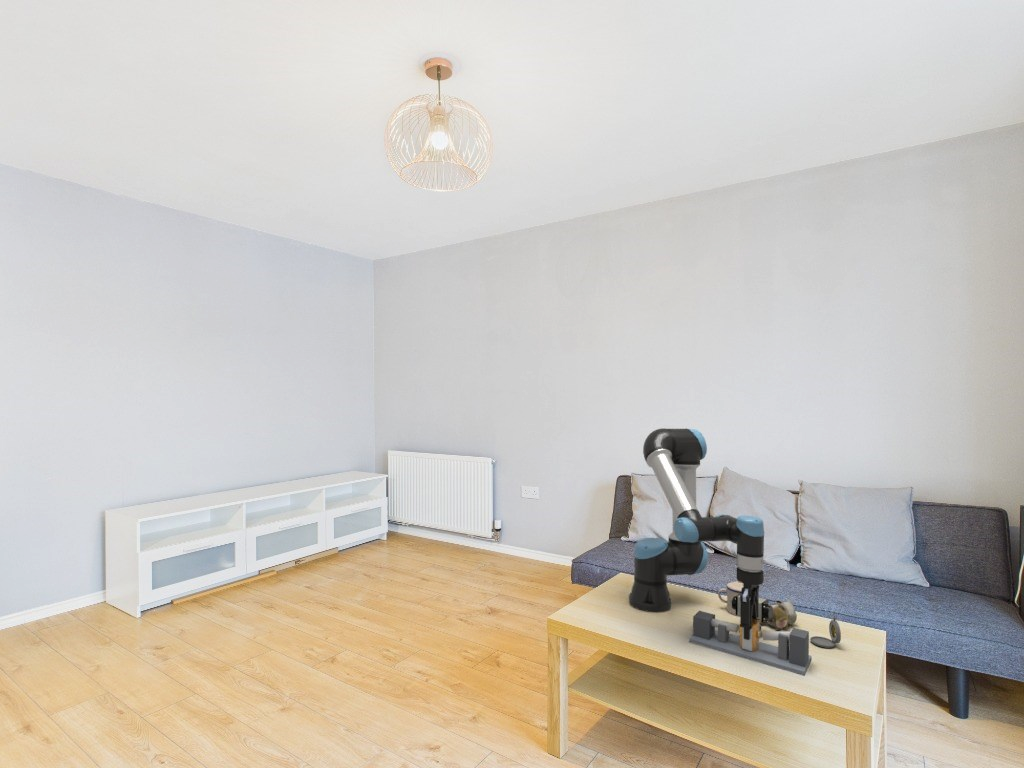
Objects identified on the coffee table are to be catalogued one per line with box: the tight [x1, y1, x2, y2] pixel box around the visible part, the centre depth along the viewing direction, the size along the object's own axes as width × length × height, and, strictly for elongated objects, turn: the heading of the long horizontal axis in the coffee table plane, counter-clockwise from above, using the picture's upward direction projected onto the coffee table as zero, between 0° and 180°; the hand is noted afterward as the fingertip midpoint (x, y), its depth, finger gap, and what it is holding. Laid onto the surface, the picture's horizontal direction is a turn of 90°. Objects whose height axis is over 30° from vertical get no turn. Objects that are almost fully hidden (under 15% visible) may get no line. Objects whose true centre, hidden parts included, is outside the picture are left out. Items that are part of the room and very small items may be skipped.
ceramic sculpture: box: [760, 600, 798, 631], centre depth 181 cm, size 11×9×15 cm
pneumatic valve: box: [732, 593, 773, 633], centre depth 177 cm, size 6×12×12 cm, turn 45°
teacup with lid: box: [717, 579, 743, 617], centre depth 193 cm, size 12×9×12 cm
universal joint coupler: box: [738, 619, 762, 652], centre depth 162 cm, size 6×4×8 cm
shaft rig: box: [688, 610, 812, 676], centre depth 163 cm, size 32×12×9 cm, turn 53°
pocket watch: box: [809, 612, 842, 649], centre depth 168 cm, size 8×8×10 cm
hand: (749, 646), depth 162 cm, fingers closed on universal joint coupler, 4 cm apart
